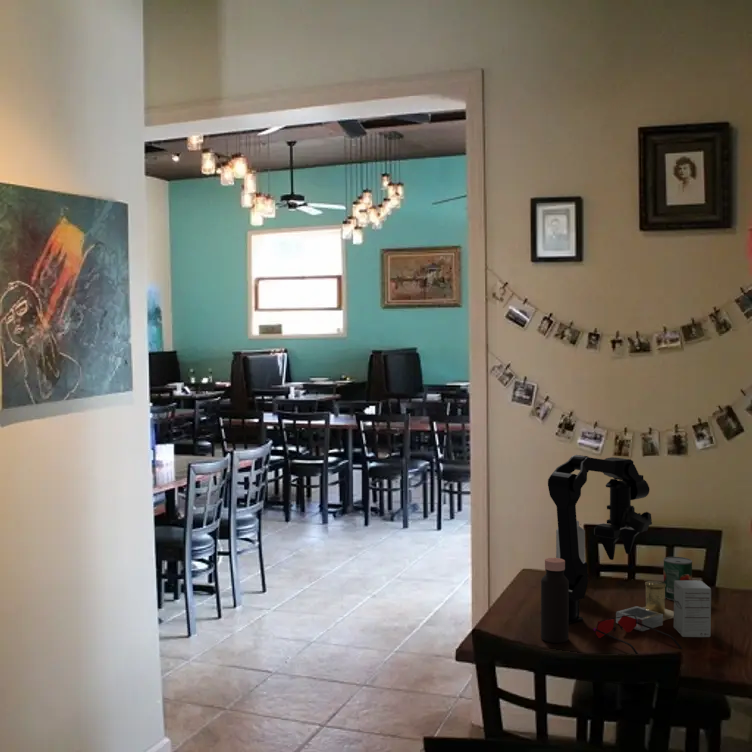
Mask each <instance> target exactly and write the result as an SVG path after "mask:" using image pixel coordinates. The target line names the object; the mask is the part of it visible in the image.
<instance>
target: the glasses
mask: <svg viewBox="0 0 752 752" xmlns="http://www.w3.org/2000/svg"><path fill="white" fill-rule="evenodd" d="M628 616H634V615H626V616H625V615H623V616H621V617H622V618H621V617H616V616H615V617H611V618H610V617H609V618H607V619H603V620H599V621H597V625H596V627H593V631H594V632H595V635H596V636H597V638H598V639H601V638H602V637H604V636H607V637H610V638H611V639H614V640H617V641H619V642H621V643H623V644H625V645H628V646H629V647H630V648H631V649H632V650H633V652H634V654H635V655H636V654H639V652H637V650H636V649H635V647H634V646H633V645H632V644H631V643H630V642H628V641H625V640H622V639H620V638H617V637H615V636H613V635H611V634H608V633H610V632H612V631H613V632H616V630H617V626H614V624H615V620H616V618H621V619H620V620H619V621H618V623H617V624H618V625H619V628H620V630H621V631H623V630H624V631H625V633H631V632H632V631H633V630H635V629H634V628H635V627H636V624H639V625H642V626H644V627H647V628H649V629H648V630H653V631H655V632H657V633H659V634H662V635H665V636H667V637H669V638H670V639H672V641H673V642H674V644H675V645H676V646H677V647H678V649H680V650H683V647H682V646H681V645H680V644H679V642H678V641H677V640H676V639H675V637H673V635H670V634H668V633H665V632H664V631H661V630H658V629H656V628H651V627H648V626H646V625H643V624H641V623H638V622H637V619H634V618H631V617H628ZM634 617H635V618H636V616H634Z"/></svg>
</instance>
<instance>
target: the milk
mask: <svg viewBox="0 0 752 752" xmlns="http://www.w3.org/2000/svg"><path fill="white" fill-rule="evenodd" d="M555 533H556V537H555V544H556V545H555V548H556V549H555V558H560V547H559V533H558V528H556V531H555ZM577 534H578V548H579V558H580V559H581V561H584V562H586V561H585V560H586V556H585V555H586V530H585V529H584V528H582V527H581V526H580V521H579V520H577ZM572 591H573V590H569V592H572Z"/></svg>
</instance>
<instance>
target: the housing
mask: <svg viewBox="0 0 752 752" xmlns="http://www.w3.org/2000/svg"><path fill="white" fill-rule="evenodd" d="M623 615H625V616H626V615H634V616H636V618H635V617H634V616H628V617H631V618H634V619H637V622H638V623H641V624H643V625H646V626H648V627H651V628H653V629H656V628H658V627H661V626H664V625H663V623H664V621H663V614H661V613H658V612H655V611H651V610H648V609H645V608H642V607H641V606H638V605H635V606H632V607H627V608H625V609H621V610H617V611H615V618H616V617H621V616H623ZM621 618H622V617H621ZM621 618H616V619H615V623H616V624H618V621H619V620H620V619H621ZM633 630H635V631H639V632H645V631H648V630H650V629H649V628H647V627H644V626H642V625H639V624H636V627H635V628H634V629H633Z"/></svg>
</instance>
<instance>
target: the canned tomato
mask: <svg viewBox="0 0 752 752" xmlns="http://www.w3.org/2000/svg"><path fill="white" fill-rule="evenodd" d="M676 580H693V560H692V559H690V558H687V557H682V556H667V557H664V558H663V582H664V583H665V584H666V587H665V599H666V598H667V600H669V601H673V602H674V581H676Z"/></svg>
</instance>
